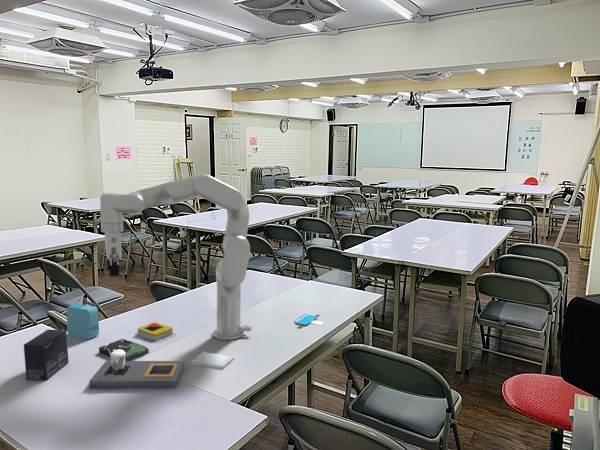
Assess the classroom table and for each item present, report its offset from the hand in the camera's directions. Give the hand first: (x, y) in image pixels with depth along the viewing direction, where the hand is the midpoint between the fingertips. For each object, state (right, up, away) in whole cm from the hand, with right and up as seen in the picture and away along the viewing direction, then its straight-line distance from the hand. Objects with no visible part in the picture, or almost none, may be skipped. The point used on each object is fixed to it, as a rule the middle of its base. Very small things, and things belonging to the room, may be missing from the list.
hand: (113, 272), depth 165 cm
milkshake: (+10, -32, -22) cm, 40 cm away
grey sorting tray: (+17, -32, -21) cm, 42 cm away
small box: (-14, -31, -18) cm, 38 cm away
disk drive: (+5, -30, -3) cm, 30 cm away
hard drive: (+39, -31, -8) cm, 50 cm away
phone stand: (+74, -26, +34) cm, 86 cm away
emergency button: (+11, -27, +15) cm, 33 cm away
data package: (-17, -26, +12) cm, 33 cm away
